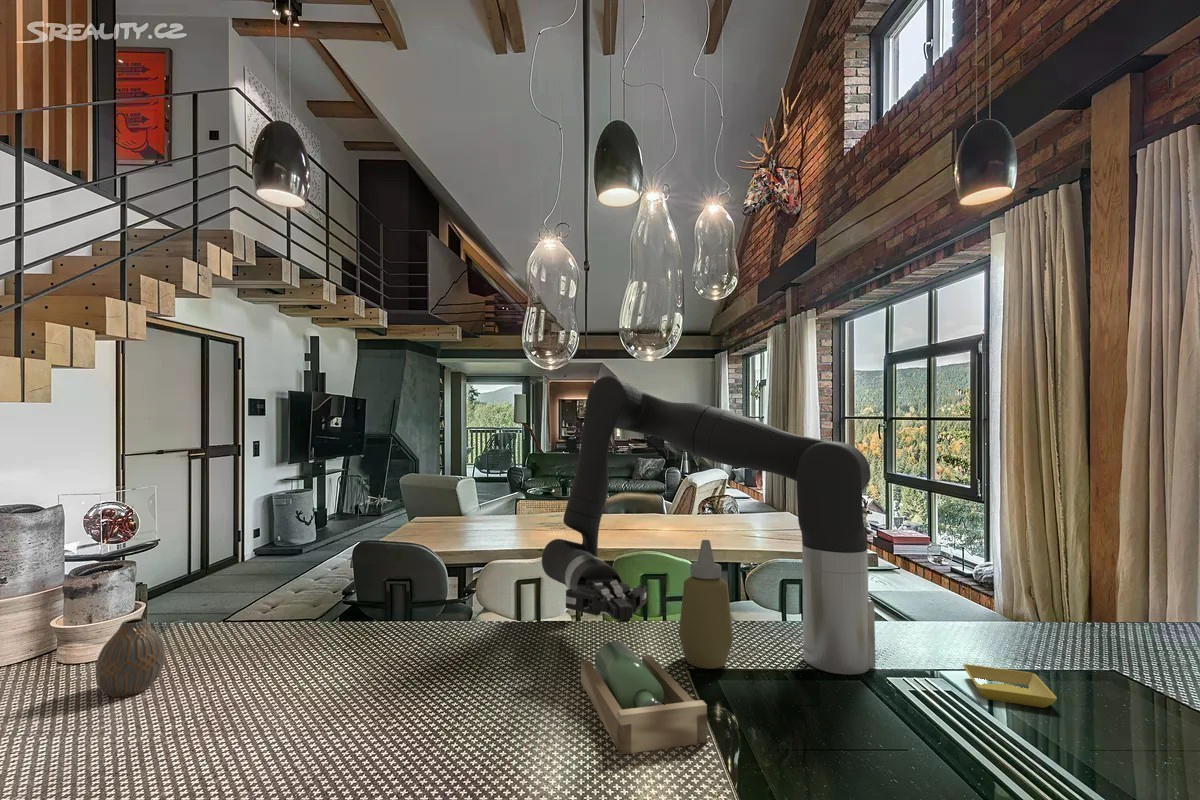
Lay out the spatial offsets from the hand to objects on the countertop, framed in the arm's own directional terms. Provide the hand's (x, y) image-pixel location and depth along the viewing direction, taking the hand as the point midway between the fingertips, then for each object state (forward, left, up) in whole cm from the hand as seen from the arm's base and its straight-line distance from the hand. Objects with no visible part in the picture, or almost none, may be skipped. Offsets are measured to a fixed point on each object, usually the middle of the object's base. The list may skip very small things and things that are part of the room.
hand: (625, 614), depth 75 cm
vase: (+62, -16, -10) cm, 65 cm away
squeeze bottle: (-15, -7, -10) cm, 19 cm away
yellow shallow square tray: (-50, +12, -11) cm, 53 cm away
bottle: (0, -4, -7) cm, 8 cm away
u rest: (0, +5, -10) cm, 11 cm away
